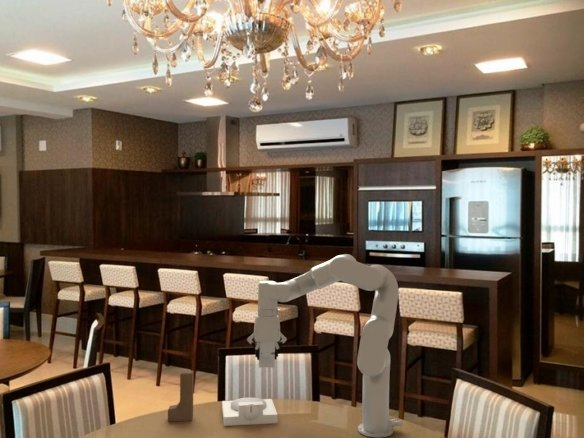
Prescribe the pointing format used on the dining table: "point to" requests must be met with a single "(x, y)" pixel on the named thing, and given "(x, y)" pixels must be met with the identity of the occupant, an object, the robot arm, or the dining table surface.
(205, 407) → the dining table surface
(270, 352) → the skincare box
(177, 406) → the wooden block
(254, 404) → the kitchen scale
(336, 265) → the robot arm
